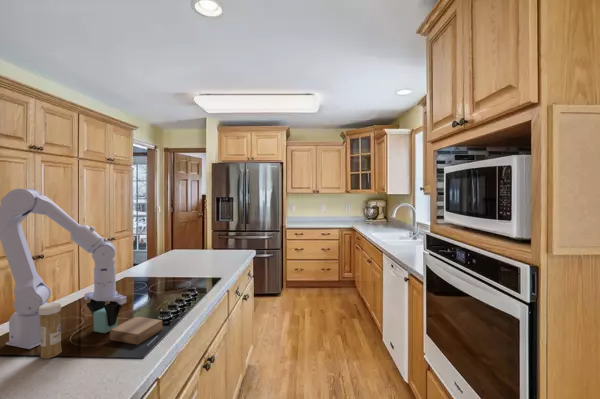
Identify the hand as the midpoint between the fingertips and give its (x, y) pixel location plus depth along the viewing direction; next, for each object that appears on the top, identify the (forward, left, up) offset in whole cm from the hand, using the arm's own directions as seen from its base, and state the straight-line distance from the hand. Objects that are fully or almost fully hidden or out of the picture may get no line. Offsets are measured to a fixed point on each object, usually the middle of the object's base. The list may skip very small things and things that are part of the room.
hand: (105, 324), depth 100 cm
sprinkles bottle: (-1, -16, -2) cm, 16 cm away
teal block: (0, 0, -2) cm, 2 cm away
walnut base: (+12, 0, -2) cm, 12 cm away
